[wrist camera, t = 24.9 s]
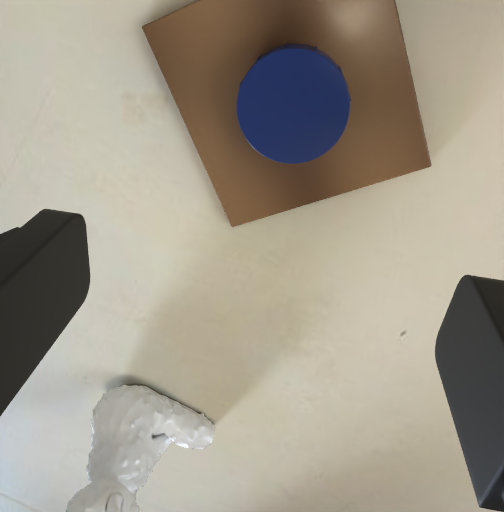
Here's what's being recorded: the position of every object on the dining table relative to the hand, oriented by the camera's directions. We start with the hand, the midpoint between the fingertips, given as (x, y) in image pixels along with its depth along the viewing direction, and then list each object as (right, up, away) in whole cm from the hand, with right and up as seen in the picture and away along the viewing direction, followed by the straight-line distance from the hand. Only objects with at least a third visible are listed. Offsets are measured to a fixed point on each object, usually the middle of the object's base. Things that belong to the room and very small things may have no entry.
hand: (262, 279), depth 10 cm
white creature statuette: (-9, -12, +30) cm, 33 cm away
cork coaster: (+2, +9, +15) cm, 18 cm away
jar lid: (+2, +8, +14) cm, 16 cm away
